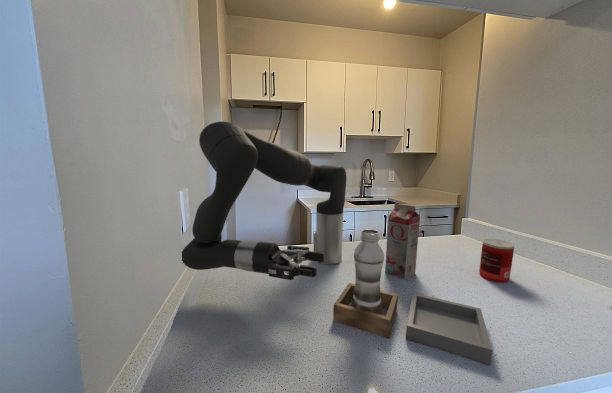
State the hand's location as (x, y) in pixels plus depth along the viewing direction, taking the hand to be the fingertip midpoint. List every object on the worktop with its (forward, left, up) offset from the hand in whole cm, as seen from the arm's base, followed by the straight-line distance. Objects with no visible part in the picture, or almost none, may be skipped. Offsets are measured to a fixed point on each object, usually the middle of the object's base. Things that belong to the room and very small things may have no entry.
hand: (320, 264), depth 60 cm
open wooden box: (+11, +2, -11) cm, 16 cm away
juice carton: (+15, +29, -11) cm, 35 cm away
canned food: (+41, +40, -11) cm, 58 cm away
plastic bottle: (+11, +2, -11) cm, 16 cm away
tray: (+27, +5, -11) cm, 29 cm away
